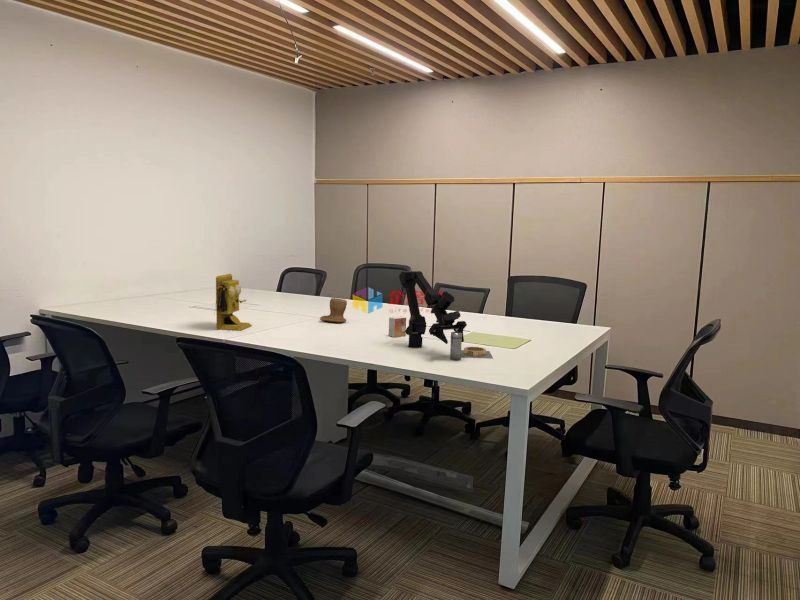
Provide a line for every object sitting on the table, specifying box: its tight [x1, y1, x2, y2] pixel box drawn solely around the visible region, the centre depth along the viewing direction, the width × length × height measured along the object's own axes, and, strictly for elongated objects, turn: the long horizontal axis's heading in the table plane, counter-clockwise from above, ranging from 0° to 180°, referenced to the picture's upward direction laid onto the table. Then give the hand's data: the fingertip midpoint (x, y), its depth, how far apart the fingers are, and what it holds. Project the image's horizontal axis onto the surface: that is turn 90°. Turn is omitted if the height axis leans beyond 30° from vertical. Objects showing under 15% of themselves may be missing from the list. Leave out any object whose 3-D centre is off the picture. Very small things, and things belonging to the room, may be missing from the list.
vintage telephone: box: [214, 273, 253, 332], centre depth 336 cm, size 31×14×30 cm, turn 171°
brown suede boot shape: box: [319, 297, 348, 323], centre depth 367 cm, size 15×12×15 cm
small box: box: [388, 316, 407, 338], centre depth 328 cm, size 8×6×10 cm
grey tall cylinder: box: [449, 331, 463, 362], centre depth 275 cm, size 5×5×13 cm
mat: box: [461, 349, 494, 360], centre depth 287 cm, size 16×16×1 cm
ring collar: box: [463, 346, 487, 357], centre depth 287 cm, size 10×10×2 cm
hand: (455, 342), depth 275 cm, fingers open, 9 cm apart
